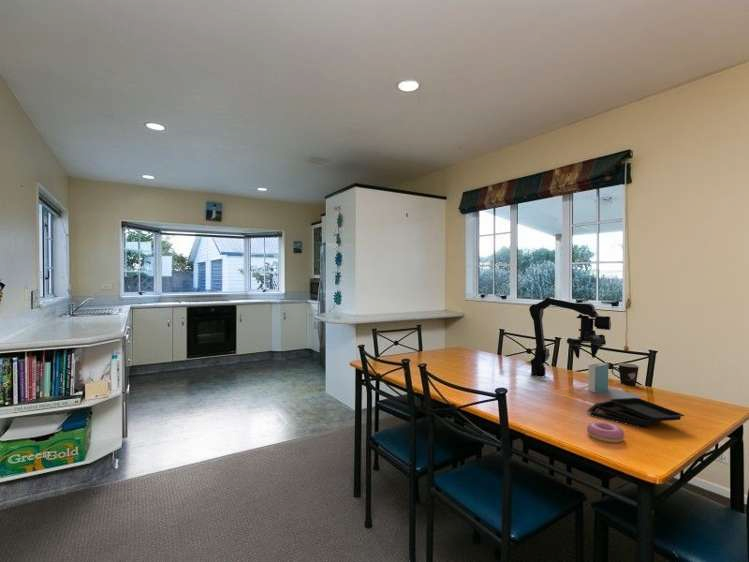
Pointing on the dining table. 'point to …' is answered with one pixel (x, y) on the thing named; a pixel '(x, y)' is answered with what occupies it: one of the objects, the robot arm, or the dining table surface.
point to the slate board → (614, 394)
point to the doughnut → (605, 432)
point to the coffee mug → (627, 373)
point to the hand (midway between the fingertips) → (585, 357)
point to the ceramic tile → (598, 377)
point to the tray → (635, 412)
